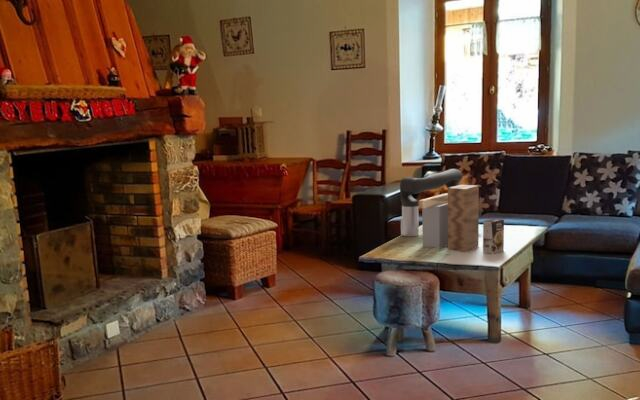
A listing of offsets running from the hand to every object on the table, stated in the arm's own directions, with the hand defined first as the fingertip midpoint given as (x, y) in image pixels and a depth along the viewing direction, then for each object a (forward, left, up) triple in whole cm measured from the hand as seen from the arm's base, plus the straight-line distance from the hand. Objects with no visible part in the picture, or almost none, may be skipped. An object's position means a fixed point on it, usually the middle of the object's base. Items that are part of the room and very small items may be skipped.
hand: (447, 192), depth 331 cm
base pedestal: (0, -13, -26) cm, 29 cm away
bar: (0, -13, -4) cm, 14 cm away
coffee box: (+31, -10, -27) cm, 42 cm away
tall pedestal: (+15, -11, -26) cm, 32 cm away
